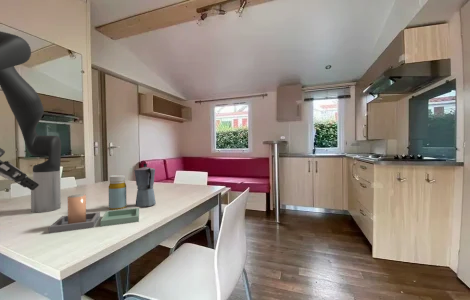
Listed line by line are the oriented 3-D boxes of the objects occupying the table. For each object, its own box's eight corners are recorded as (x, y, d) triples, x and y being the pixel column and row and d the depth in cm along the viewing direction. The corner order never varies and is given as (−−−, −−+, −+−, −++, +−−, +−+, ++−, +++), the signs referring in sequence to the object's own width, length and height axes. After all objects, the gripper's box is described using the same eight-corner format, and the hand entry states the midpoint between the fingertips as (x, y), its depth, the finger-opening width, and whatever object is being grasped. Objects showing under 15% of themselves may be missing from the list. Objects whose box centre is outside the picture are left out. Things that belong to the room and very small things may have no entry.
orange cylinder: (65, 227, 72) (65, 198, 72) (70, 222, 77) (70, 194, 77) (84, 225, 74) (83, 196, 74) (87, 220, 79) (87, 193, 79)
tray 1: (49, 235, 68) (49, 227, 68) (62, 222, 79) (62, 216, 79) (93, 229, 73) (93, 221, 73) (100, 218, 84) (100, 212, 84)
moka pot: (150, 200, 111) (149, 162, 111) (162, 206, 100) (162, 164, 100) (130, 204, 105) (130, 163, 105) (141, 210, 93) (141, 165, 93)
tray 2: (100, 228, 73) (100, 220, 73) (105, 217, 84) (105, 211, 84) (138, 223, 78) (138, 216, 78) (139, 213, 89) (139, 207, 89)
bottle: (118, 211, 92) (118, 177, 92) (105, 210, 94) (104, 176, 94) (129, 207, 99) (129, 175, 99) (116, 206, 101) (116, 174, 101)
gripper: (-8, 138, 55) (50, 178, 64) (-16, 140, 63) (37, 175, 72) (-42, 160, 50) (26, 199, 60) (-45, 159, 59) (15, 193, 68)
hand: (32, 186), depth 66 cm, fingers open, 8 cm apart
